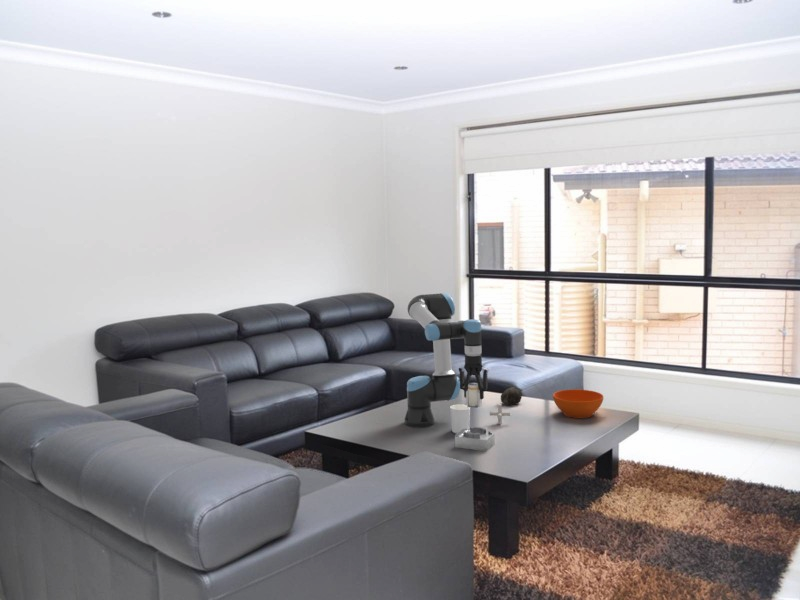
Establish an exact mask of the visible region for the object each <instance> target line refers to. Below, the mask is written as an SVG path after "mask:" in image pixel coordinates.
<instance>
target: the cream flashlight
mask: <svg viewBox="0 0 800 600" xmlns="http://www.w3.org/2000/svg"><path fill="white" fill-rule="evenodd" d="M478 392H479V387H478V383H477V382H470V383H469V384H468V405H467V407H470V408H475V409H476V408H479V407H478Z"/></svg>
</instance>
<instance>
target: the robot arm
mask: <svg viewBox="0 0 800 600" xmlns="http://www.w3.org/2000/svg"><path fill="white" fill-rule="evenodd" d="M455 312H456V308H455V302H454V299H453V298H452V296H451V294H450V293H444V292H443V293H427V294H419V295H416V296H415V297H413V298H411V300H410V301H409V302H408V305H407V313H408V315H409V317H410V318H411V319H412V320H414V321H416V322H418V323H419V325H421V326H422V328H423V329H424V335H425V338H426V340H427V341H432V343H433V344H432V346H433V358H434V359H433V360H434V372H433V373H432V378H431V377H430V376H429V375H418V376H415V377H414V376H413V377H411V378H409V379H408V381H407V382H406V396H407V397H406V399H407V411H406V413H405V417H404V425H405V426H407V427H410V428H427V427H431V426H433V425H434V424H435V423H436V422H435V417H434V414H433V413H434V412H433V411H432V402H433V403H434V402H444V401H453V400H456V399H457V398H458V397H459V395H460V391H461V390H462V391H463V393H464V394H463V395H464V396H463V397H464V399H465V402H466V403H465V405H466V406H467V405H468V384H469V383H471V379H472V376H475V379H476V383H478V387H479V392H478V408H480V407H482V406H483V403H482V402H483V399H484V398H485V394H484V392H487V390H488V389H489V388H488V387H489V383H488V382H489V381H488V380H489V379H488V373H489V368H485V367H483V363H482V361H483V359H482V354H483V353H482V348H483V347H482V330H483V329H482V322H481V320H479V319H475V318H474V319H473V318H472V319H466V320H458V321H455V322H454V321H453V322H451V321H452V317H453V316H454V315H455ZM457 339H463V340H464V354H465V355H464V366H460V367H459V368H458V372H459V376H457V375H456V372H455V371H454V370H453V365H452V351H451V350H452V348H451V340H457ZM465 371H466V379H465ZM481 372H482V375H481ZM481 376H482V378H481Z"/></svg>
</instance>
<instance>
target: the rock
mask: <svg viewBox="0 0 800 600" xmlns="http://www.w3.org/2000/svg"><path fill="white" fill-rule="evenodd" d="M522 397H523V392H522V390H520V389H519V387H517V386H510V387H507V388H506V389H505V390H504V391H503V392H502V393H501V395H500V401H501V404H504V405H506V406H511V405H517V404H519V403H521V400H522Z"/></svg>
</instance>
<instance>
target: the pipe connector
mask: <svg viewBox="0 0 800 600" xmlns="http://www.w3.org/2000/svg"><path fill="white" fill-rule="evenodd" d="M502 405H503V403H497V411H489V416H497V423H498V424H497V425H502V424H503V417H507V416H508V417H510V416H511V412H509V411H503V409H502V408H503V407H502Z"/></svg>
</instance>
